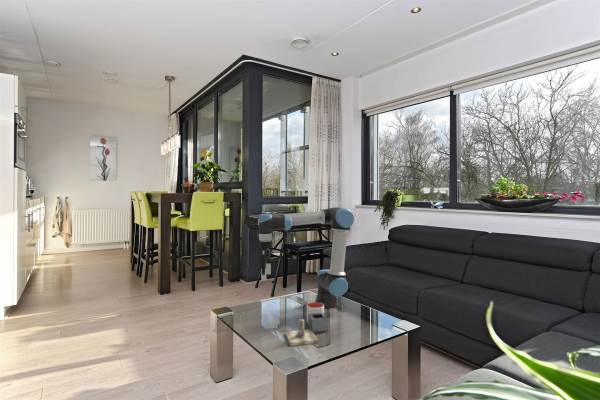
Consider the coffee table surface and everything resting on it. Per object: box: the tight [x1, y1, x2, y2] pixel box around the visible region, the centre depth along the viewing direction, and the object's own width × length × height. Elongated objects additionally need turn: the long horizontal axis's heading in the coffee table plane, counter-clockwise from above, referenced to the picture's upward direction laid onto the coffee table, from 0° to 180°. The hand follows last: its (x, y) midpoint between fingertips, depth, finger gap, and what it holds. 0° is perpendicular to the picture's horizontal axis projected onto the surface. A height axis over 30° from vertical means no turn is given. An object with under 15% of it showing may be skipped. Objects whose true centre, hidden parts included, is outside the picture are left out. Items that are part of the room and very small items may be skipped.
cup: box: [306, 301, 325, 323], centre depth 203 cm, size 10×10×10 cm
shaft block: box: [284, 318, 319, 347], centre depth 181 cm, size 14×14×10 cm
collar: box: [307, 312, 330, 334], centre depth 193 cm, size 9×9×7 cm
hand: (266, 277), depth 206 cm, fingers open, 13 cm apart
